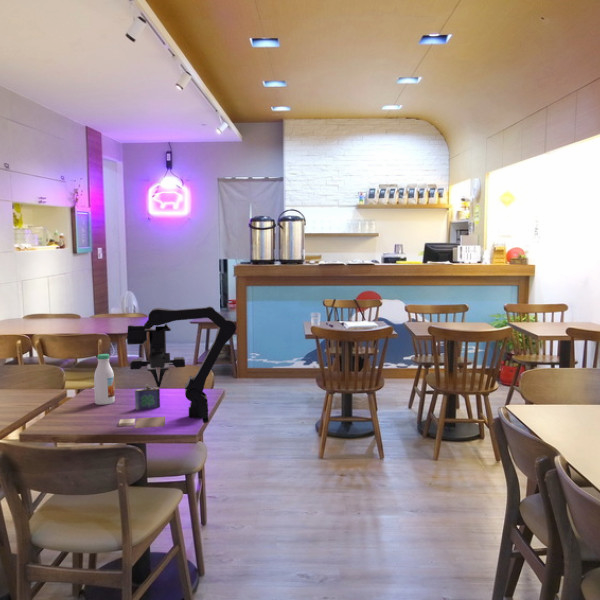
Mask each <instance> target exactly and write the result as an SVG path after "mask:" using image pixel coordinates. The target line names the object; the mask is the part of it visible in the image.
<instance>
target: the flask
mask: <svg viewBox="0 0 600 600" xmlns="http://www.w3.org/2000/svg"><path fill="white" fill-rule="evenodd" d="M144 387H145V388H139V389H138V388H137V389H135V390H134V399H135V401H134V406H135V410H136V411H138V410H145V409H147V410H148V409H159V408H161V400H160V399H161V397H160V396H161V395H160V394H161V391H160V387H155V386H150V385H149V383H147V384H145V385H144Z"/></svg>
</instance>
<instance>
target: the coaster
mask: <svg viewBox="0 0 600 600" xmlns="http://www.w3.org/2000/svg"><path fill="white" fill-rule="evenodd" d="M135 424H136V418H125V419H124V418H123V419H119V422H118V427H127V426H128V427H129V426H135Z"/></svg>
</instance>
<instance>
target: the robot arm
mask: <svg viewBox="0 0 600 600" xmlns="http://www.w3.org/2000/svg"><path fill="white" fill-rule="evenodd" d="M147 317H148V319H147V321H146V322H145V323H144V324H142V325H134V324H133V325H129V324H128V326H127V335H126V343H127V346H128V345H129V346H133V345H145V343H146V342H149V343H148V344H149V345H148V347H149V355H148V360H143V358H133V359H131V361H130V364H129V367H130V370H140V369H141V368H142V367H147V372H150V373H151V374H152V376H153V378H154V381H155V384H156V386H157V387H156V388H160V387H161V384H162V381H163V377H164V374H165V373H166V371H169V369H170V366H174V367H175V368H185V367H186V358H185V357H184V356H175V357H173V359H171V353H170V352H167V340H166V339H167V338H166V337H167V333H166V332H170V331H171V330H172V328H171V327H170V326H169V325H168V324H169V323H171V322H175V321H185V320H186V321H187V320H196V319H197V320H199V319H209V320H210V321H212V322H213V324H214V325H216V326H217V330H216V334H215V337H214V341H213V343H212V344H211V346H210V348H209V349H208V351H207V354H206V355H205V358H204V359H203V361H202V363H201V365H200V366H199V369H198V371H197V372H196V374H195V375H194V376H191V375H189V377H188V380H187V382H186V383H185V384H184V392H185V395H184V396H185V397H186V399H187V401H190V403H189V405H190V406H189V407H188V418H189V419H190V418H191V419H202V422H203V423H204V422H209V402H208V396H207V394H206V393H205V392H204V388H205V385H206V381H207V378H208V376H209V375H210V373H211V371H212V370H213V367H214V365H215V363H216V361H217V360H218V357H219V356H220V354H221V351H222V350H223V349H224V347H225V345H226V344H227V343H228V342H229V341H230V339H231V338H232V337H233V336H234V335H235V333H236V331H237V324H235V322H234V321H233V320H232V319H230V318H225V317H224V316H222V314H220V313H219V312H218V311H217V310H215V308H214V307H213V306H210V305H209V306H206V307H194V308H184V309H183V308H182V309H171V308H161V307H156V308H155V307H154V308H152V309H151V310H150V311H149V313H148V316H147ZM161 325H162V326H161ZM154 326H155V328H153V327H154ZM148 336H149V337H148ZM158 368H159V374H158Z"/></svg>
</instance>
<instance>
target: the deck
mask: <svg viewBox="0 0 600 600" xmlns="http://www.w3.org/2000/svg"><path fill="white" fill-rule="evenodd" d="M165 426H166V416H155V417H154V416H152V417H138V418H136V419H135V423H134V429H143V428H158V427H161V428H162V427H165Z"/></svg>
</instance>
